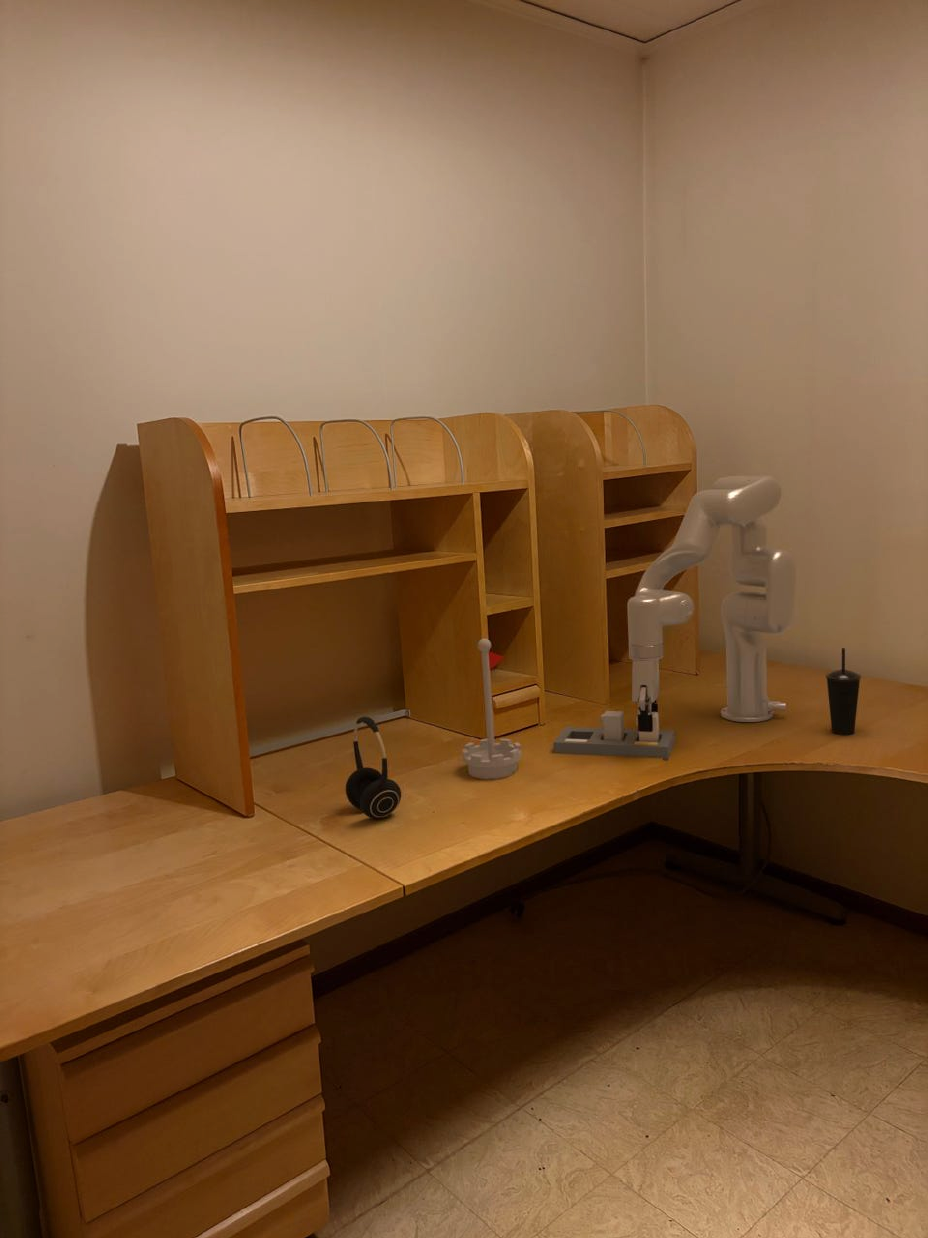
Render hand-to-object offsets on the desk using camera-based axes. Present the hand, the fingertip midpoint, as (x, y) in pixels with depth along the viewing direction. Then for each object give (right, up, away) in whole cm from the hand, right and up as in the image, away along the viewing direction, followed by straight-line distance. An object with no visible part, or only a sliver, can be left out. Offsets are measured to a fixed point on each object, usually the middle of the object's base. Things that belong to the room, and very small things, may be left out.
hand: (648, 725), depth 213 cm
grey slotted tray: (-7, -6, +4) cm, 10 cm away
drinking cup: (+46, -2, +4) cm, 47 cm away
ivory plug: (0, -5, +1) cm, 5 cm away
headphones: (-60, -15, -25) cm, 67 cm away
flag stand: (-36, -10, -5) cm, 37 cm away
